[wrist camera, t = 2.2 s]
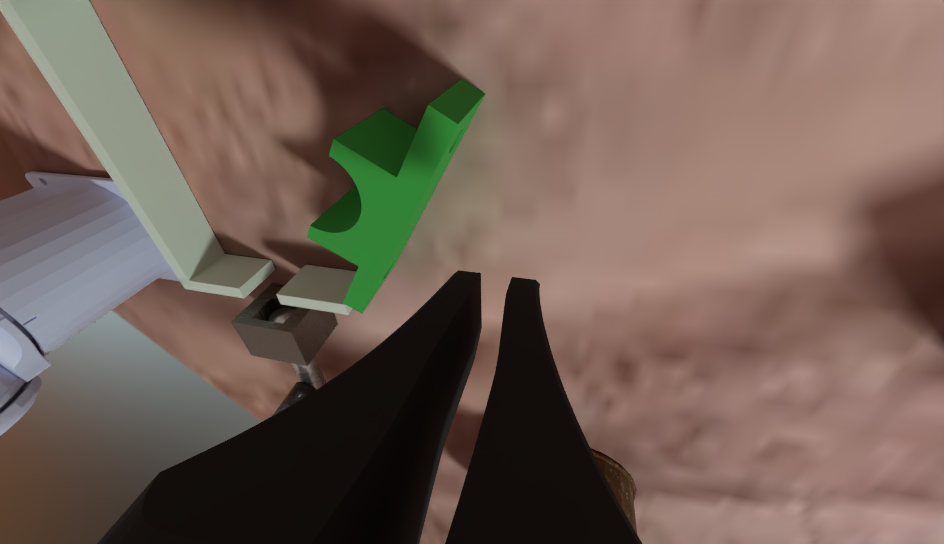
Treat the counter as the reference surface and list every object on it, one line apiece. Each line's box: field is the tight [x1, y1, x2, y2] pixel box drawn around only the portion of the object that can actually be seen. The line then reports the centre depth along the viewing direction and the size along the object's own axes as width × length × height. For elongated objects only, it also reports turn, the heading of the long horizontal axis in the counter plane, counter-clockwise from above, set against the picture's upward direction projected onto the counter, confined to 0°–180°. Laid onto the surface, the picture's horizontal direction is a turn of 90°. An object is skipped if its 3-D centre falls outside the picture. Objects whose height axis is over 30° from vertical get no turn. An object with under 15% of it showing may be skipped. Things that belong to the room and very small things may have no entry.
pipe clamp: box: [307, 79, 485, 313], centre depth 17 cm, size 11×4×5 cm, turn 152°
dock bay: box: [0, 0, 356, 315], centre depth 19 cm, size 12×16×3 cm
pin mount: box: [232, 283, 338, 366], centre depth 25 cm, size 3×4×4 cm
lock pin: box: [269, 307, 326, 415], centre depth 25 cm, size 8×2×5 cm, turn 2°
